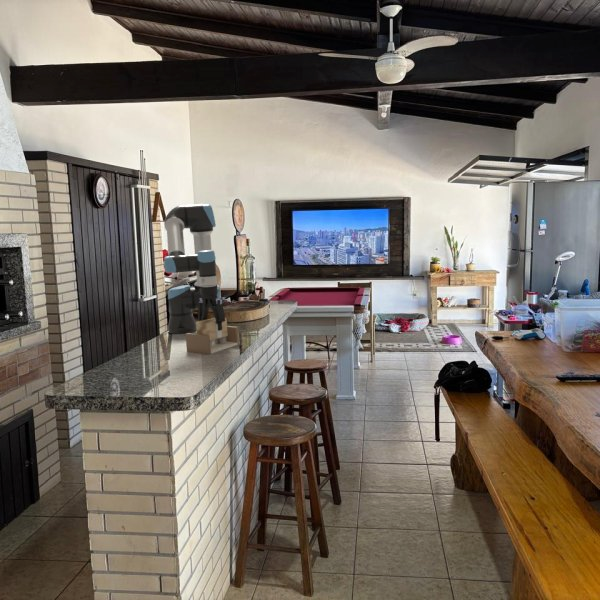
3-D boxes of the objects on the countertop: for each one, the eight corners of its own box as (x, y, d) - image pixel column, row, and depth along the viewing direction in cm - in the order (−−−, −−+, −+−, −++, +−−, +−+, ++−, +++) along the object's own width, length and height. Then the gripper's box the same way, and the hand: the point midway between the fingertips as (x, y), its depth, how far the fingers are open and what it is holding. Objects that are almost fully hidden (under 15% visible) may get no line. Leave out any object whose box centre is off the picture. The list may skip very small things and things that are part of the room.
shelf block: (197, 339, 250) (195, 322, 248) (216, 334, 259) (215, 317, 258) (208, 341, 246) (207, 323, 244) (227, 335, 255) (226, 318, 254)
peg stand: (186, 351, 249) (185, 333, 248) (218, 341, 265) (217, 324, 264) (208, 354, 241) (207, 336, 240) (239, 344, 257) (238, 326, 256)
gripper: (186, 286, 252) (190, 336, 255) (219, 287, 240) (223, 340, 244) (198, 283, 258) (202, 333, 261) (231, 285, 246) (235, 336, 250)
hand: (212, 336), depth 252 cm, fingers closed on shelf block, 7 cm apart
